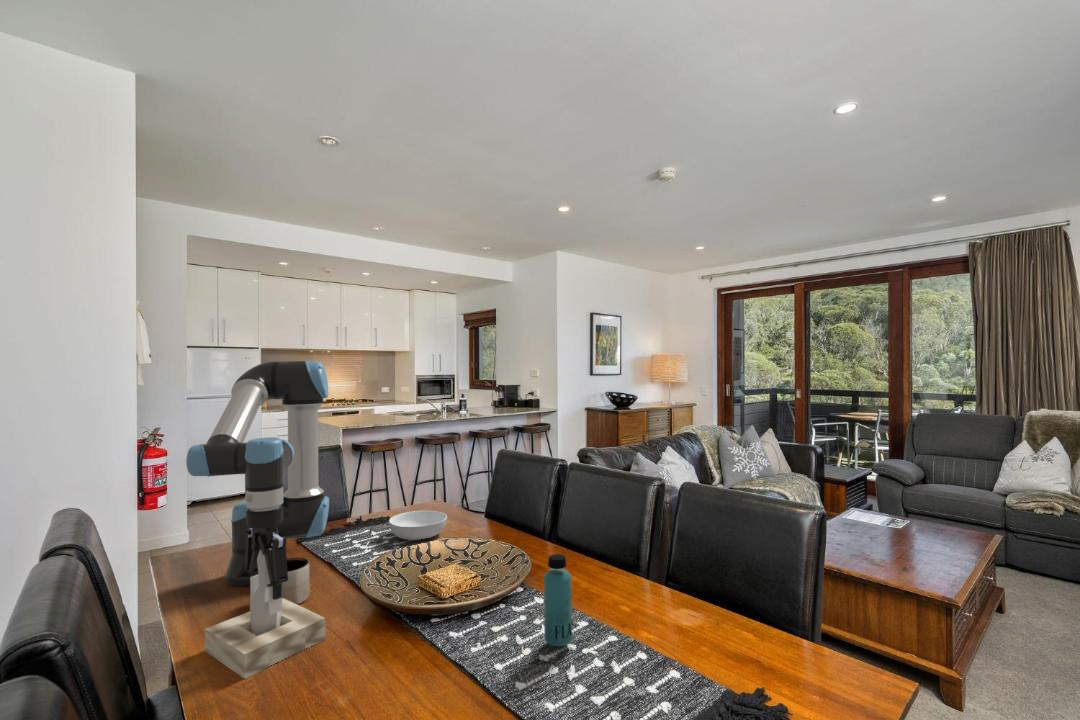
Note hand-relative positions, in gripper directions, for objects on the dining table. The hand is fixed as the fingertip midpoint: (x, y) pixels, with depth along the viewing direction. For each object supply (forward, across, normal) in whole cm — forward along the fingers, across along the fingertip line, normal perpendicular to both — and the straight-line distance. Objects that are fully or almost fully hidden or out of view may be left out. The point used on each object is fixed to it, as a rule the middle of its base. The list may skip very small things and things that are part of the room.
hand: (266, 607), depth 118 cm
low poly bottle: (+9, 0, 0) cm, 9 cm away
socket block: (+9, 0, 0) cm, 9 cm away
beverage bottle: (+9, +55, +37) cm, 67 cm away
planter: (+9, -18, +15) cm, 25 cm away
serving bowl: (+9, -28, +70) cm, 76 cm away
